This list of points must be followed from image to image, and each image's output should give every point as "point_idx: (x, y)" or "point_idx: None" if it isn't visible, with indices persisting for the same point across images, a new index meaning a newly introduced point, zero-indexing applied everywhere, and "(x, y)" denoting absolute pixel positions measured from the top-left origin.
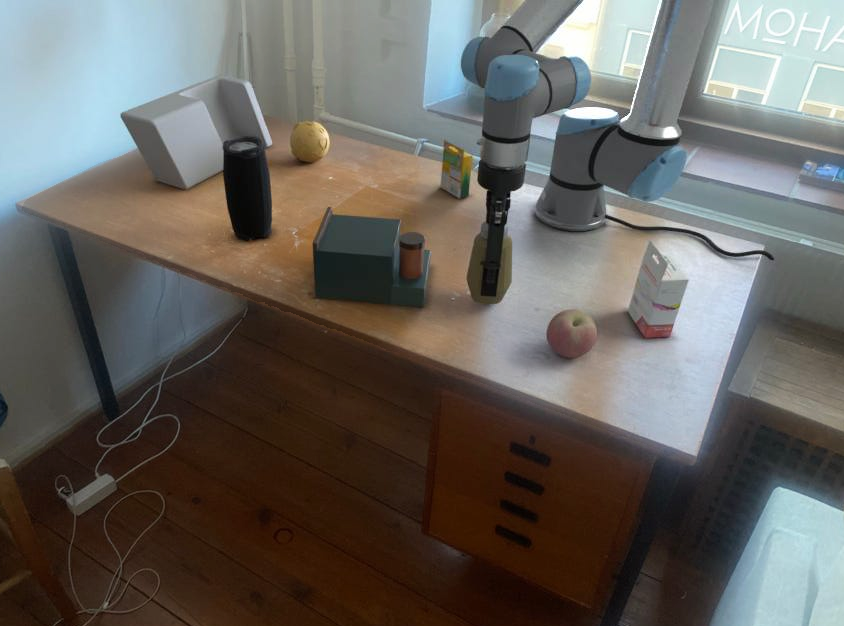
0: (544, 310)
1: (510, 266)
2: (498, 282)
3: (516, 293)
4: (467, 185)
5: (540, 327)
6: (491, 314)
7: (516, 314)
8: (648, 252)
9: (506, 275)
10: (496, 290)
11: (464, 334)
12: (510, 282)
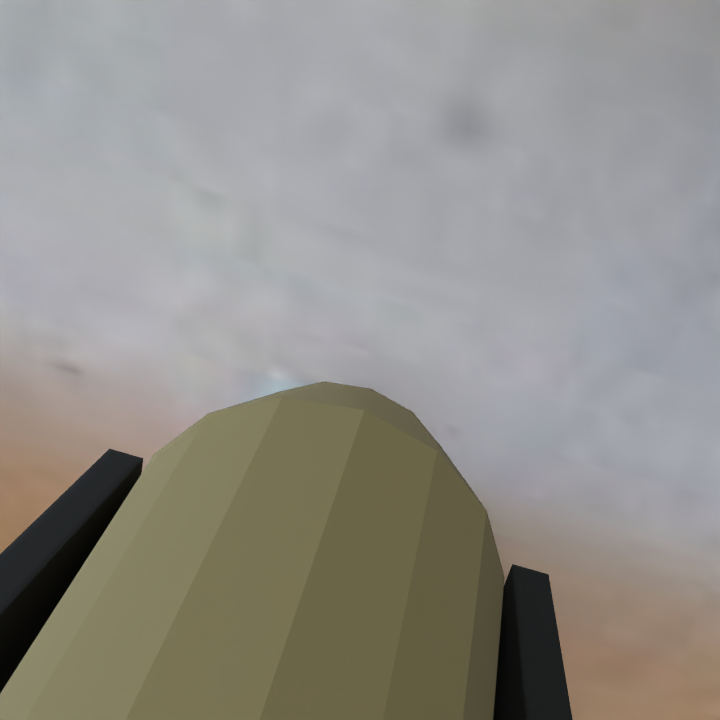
0: (487, 61)
1: (383, 586)
2: (493, 625)
3: (241, 225)
4: None
5: (716, 165)
6: (483, 462)
7: (509, 300)
8: None
9: (455, 585)
10: (553, 621)
11: (667, 660)
12: (398, 442)
